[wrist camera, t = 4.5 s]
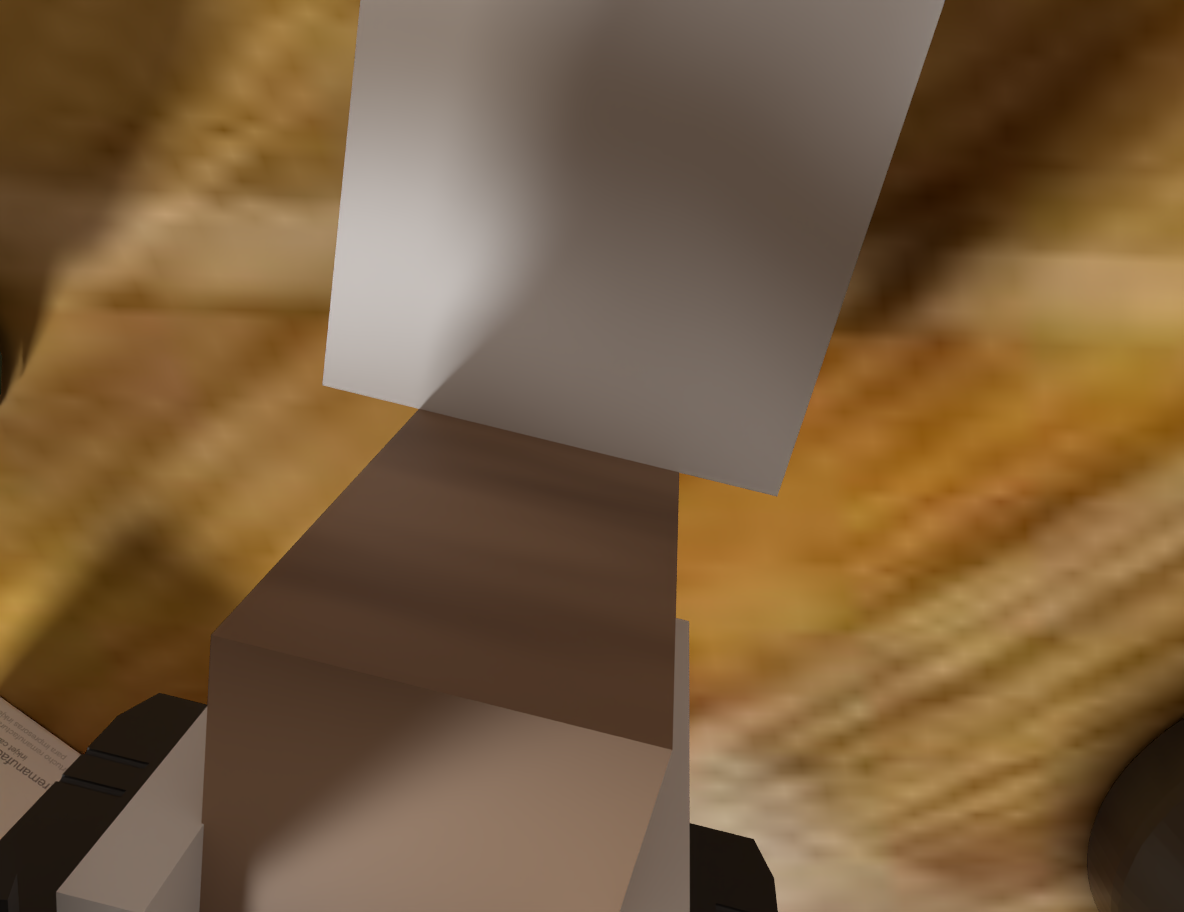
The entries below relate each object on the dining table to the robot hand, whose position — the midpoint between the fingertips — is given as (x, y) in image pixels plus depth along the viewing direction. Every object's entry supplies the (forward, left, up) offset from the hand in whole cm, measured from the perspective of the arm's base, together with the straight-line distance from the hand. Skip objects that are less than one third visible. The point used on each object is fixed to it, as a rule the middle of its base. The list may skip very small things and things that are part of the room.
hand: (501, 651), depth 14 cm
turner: (0, -4, -2) cm, 4 cm away
